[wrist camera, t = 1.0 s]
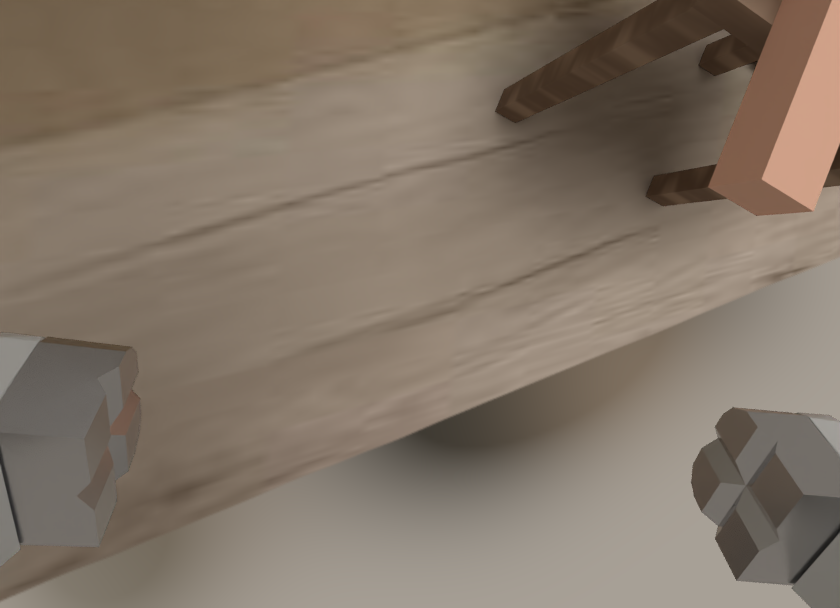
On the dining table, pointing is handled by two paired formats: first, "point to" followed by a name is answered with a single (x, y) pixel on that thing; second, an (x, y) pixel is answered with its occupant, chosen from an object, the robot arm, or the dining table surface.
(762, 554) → the robot arm
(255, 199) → the dining table surface
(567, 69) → the walnut stool
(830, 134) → the terracotta bar
